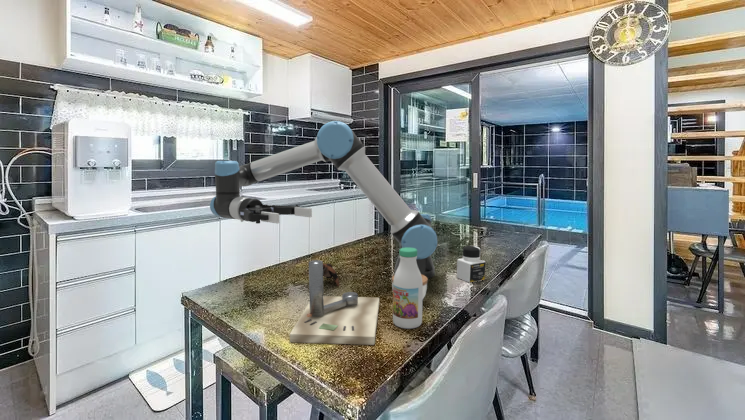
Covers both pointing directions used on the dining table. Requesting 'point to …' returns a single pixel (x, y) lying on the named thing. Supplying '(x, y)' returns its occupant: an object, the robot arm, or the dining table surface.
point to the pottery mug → (330, 273)
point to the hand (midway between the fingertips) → (295, 215)
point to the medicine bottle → (471, 265)
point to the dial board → (339, 323)
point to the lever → (317, 292)
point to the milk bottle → (407, 291)
